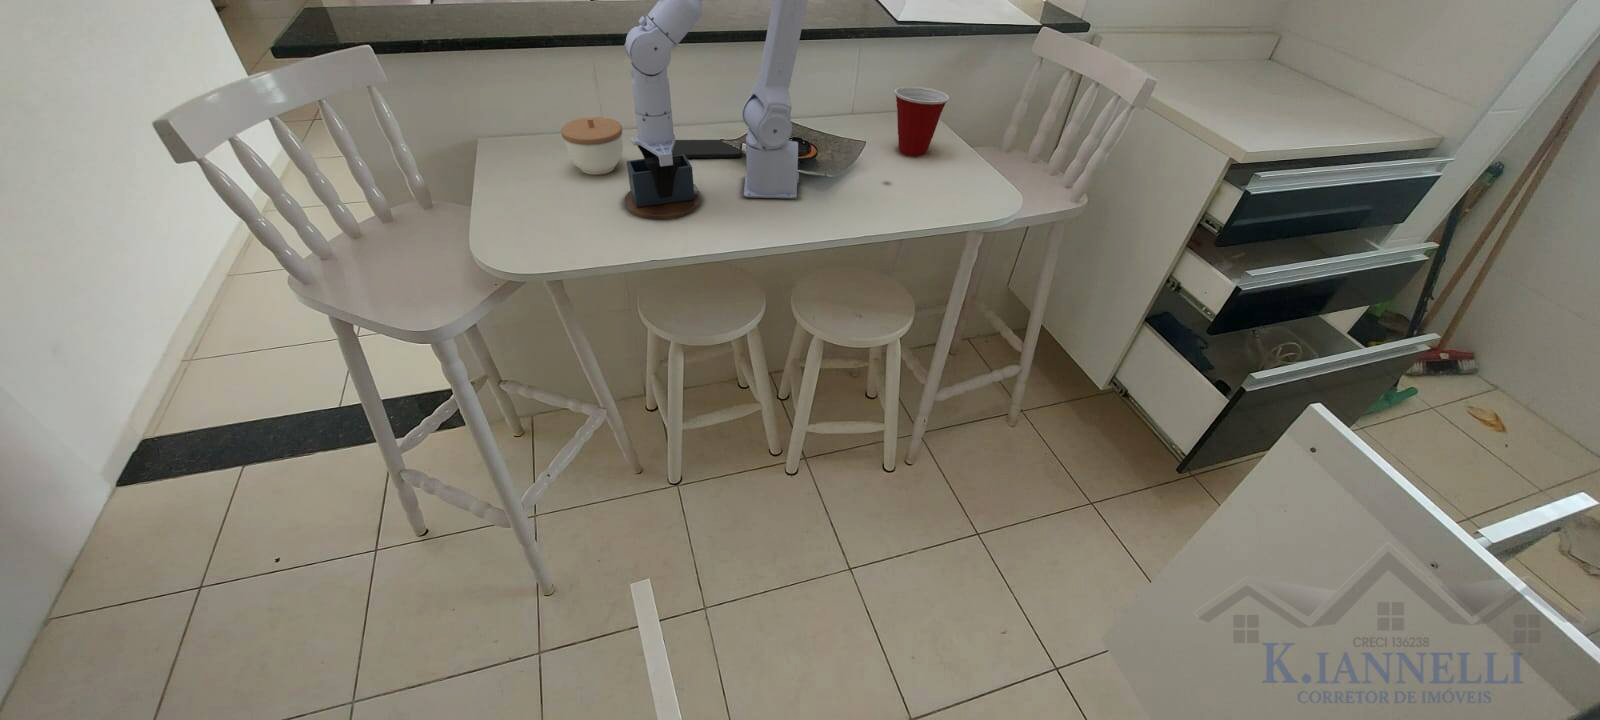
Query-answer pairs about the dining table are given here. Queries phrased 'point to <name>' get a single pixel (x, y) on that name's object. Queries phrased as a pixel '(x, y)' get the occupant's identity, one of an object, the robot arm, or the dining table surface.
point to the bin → (646, 188)
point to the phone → (705, 149)
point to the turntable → (663, 208)
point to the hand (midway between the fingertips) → (661, 188)
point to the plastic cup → (917, 118)
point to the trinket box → (594, 144)
